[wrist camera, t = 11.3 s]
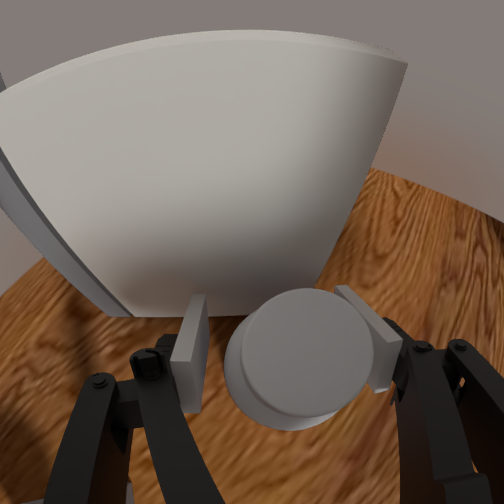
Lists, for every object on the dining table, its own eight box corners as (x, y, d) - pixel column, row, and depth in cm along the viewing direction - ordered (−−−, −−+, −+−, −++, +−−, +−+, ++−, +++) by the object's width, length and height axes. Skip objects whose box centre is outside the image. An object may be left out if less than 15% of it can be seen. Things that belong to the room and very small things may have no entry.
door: (135, 316, 20) (-18, 111, 4) (138, 288, 21) (18, 76, 6) (300, 311, 21) (408, 63, 5) (296, 282, 22) (372, 37, 6)
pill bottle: (215, 402, 17) (185, 399, 8) (248, 327, 20) (258, 245, 11) (296, 432, 16) (362, 457, 7) (324, 356, 19) (403, 299, 10)
